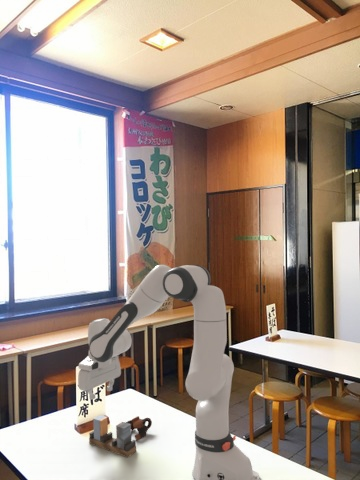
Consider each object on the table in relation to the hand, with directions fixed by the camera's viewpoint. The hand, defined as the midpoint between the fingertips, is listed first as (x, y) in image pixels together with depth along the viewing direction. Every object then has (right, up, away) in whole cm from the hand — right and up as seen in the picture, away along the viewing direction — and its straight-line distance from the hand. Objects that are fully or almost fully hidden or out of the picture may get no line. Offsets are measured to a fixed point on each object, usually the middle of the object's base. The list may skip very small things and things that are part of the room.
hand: (101, 394), depth 158 cm
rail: (+5, -19, -3) cm, 20 cm away
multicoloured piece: (0, -17, 0) cm, 17 cm away
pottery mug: (+14, -19, +6) cm, 24 cm away
